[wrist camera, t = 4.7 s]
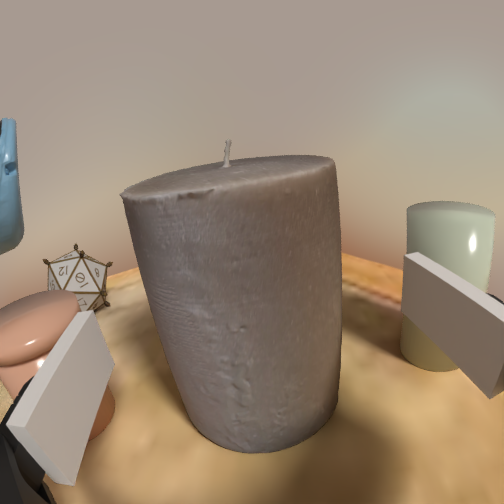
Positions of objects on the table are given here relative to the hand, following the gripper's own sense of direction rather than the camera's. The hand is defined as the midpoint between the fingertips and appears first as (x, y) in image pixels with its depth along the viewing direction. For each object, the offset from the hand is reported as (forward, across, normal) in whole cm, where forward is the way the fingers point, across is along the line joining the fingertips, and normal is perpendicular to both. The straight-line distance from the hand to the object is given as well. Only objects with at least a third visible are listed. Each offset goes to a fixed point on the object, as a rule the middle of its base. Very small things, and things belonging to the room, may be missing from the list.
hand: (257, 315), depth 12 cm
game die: (+20, -18, -9) cm, 29 cm away
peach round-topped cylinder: (+4, -14, -8) cm, 17 cm away
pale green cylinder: (+4, +13, -8) cm, 16 cm away
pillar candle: (+4, 0, -8) cm, 9 cm away
